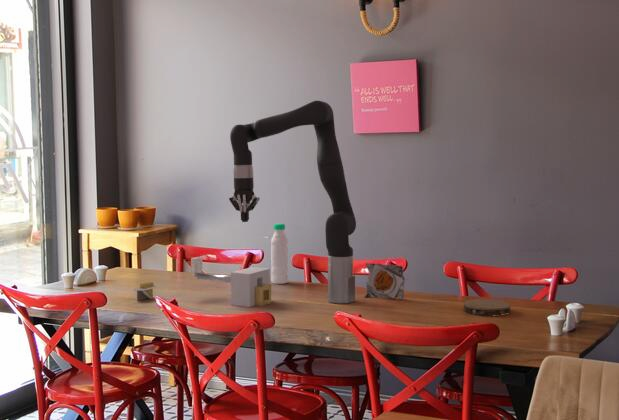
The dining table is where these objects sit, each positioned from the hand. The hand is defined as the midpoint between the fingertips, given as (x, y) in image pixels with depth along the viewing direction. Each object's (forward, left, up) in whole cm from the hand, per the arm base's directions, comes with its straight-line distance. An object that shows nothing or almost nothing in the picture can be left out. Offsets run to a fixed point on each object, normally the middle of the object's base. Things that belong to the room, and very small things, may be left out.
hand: (244, 221), depth 313 cm
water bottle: (+2, -28, -29) cm, 40 cm away
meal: (-50, -19, -29) cm, 61 cm away
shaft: (+2, +12, -22) cm, 25 cm away
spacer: (-16, +12, -29) cm, 35 cm away
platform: (+28, +25, -29) cm, 48 cm away
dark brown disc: (-91, -15, -29) cm, 97 cm away
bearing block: (-10, +12, -29) cm, 32 cm away
